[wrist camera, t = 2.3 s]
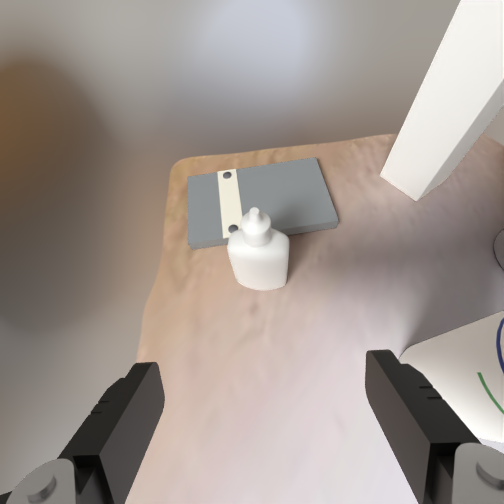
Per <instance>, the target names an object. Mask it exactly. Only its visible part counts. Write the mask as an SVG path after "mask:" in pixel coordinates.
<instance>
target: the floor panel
mask: <svg viewBox="0 0 504 504" xmlns="http://www.w3.org/2000/svg"><path fill="white" fill-rule="evenodd" d="M253 207H256V208H258V209H259V211H262V212H264V213H266V214H267V215H268V216H269V217H270V219H271V228H272V229H275V230H277V231H280V232H282V233H283V234H285V235H292V234H299V233H306V232H312V231H319V230H325V229H332V228H336V227H337V224H338V222H339V220H338V217H337V214H336V211H335V209H334V206H333V203H332V200H331V198H330V195H329V192H328V189H327V187H326V184H325V181H324V179H323V176H322V173H321V170H320V168H319V165H318V162H317V159H316V157H314V158H307V159H301V160H294V161H288V162H281V163H275V164H268V165H262V166H255V167H249V168H242V169H232V170H226V171H219V172H216V173H210V174H203V175H197V176H190V177H188V244H189V246H190V247H191V249H192V250H194V249H200V248H207V247H213V246H220V245H227V244H228V241H229V236H230V235H231V233H233V232H234V231H236V230H239V229H241V224H240V223H241V219H242V218H243V216H244V215H245V214H246V213H248V212H250V209H251V208H253Z"/></svg>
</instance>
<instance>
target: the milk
mask: <svg viewBox="0 0 504 504" xmlns="http://www.w3.org/2000/svg"><path fill="white" fill-rule="evenodd" d="M503 106H504V0H461V1H460V3H459V5H458V7H457V9H456V11H455V14H454V16H453V18H452V20H451V22H450V24H449V27H448V29H447V31H446V33H445V35H444V38H443V40H442V42H441V44H440V46H439V48H438V50H437V53H436V55H435V57H434V59H433V61H432V63H431V66H430V68H429V70H428V72H427V74H426V76H425V79H424V81H423V83H422V85H421V87H420V89H419V91H418V94H417V96H416V98H415V100H414V102H413V104H412V107H411V109H410V111H409V113H408V115H407V117H406V119H405V122H404V124H403V126H402V128H401V130H400V132H399V135H398V137H397V139H396V141H395V143H394V145H393V148H392V150H391V152H390V154H389V156H388V158H387V161H386V163H385V165H384V167H383V169H382V171H381V174H380V176H381V177H382V178H383V179H385V180H386V181H388V182H389V183H390V184H392V185H393V186H395V187H396V188H397V189H399V190H400V191H402V192H403V193H405V194H406V195H407V196H409V197H410V198H412V199H413V200H414V201H418V200H419V199H421V198H422V197H423V196H425V195H426V194H428V193H429V192H430V191H432V190H433V189H434V188H436V187H437V186H439V185H440V184H441V183H443V182H444V181H445V180H447V178H448V177H449V176H450V174H451V173H452V172H453V171H454V169H455V168H456V167H457V165H458V164H459V163H460V162H461V160H462V159H463V158H464V156H465V155H466V154H467V153H468V151H469V150H470V149H471V147H472V146H473V145H474V144H475V142H476V141H477V140H478V138H479V137H480V136H481V134H482V133H483V132H484V131H485V129H486V128H487V127H488V125H489V124H490V123H491V121H492V120H493V119H494V118H495V116H496V115H497V114H498V112H499V111H500V110H501V109H502V107H503Z"/></svg>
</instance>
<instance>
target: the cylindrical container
mask: <svg viewBox="0 0 504 504" xmlns="http://www.w3.org/2000/svg"><path fill="white" fill-rule="evenodd" d="M399 362H400V363H401V364H407V363H408V364H409V365H411V366H412V367H414V368H415V369H417V370H418V371H420V372H421V373H423V375H424V376H425V377H426V378H427V379H428V381H429V382H430V383H431V384H432V385H433V388H435V389H436V390H437V391H438V393H439V394H440V395H441V396H442V399H444V400H445V401H446V402H447V403H448V404H449V406H450V407H451V408H452V409H453V410H454V412H455V413H456V414H457V415H458V416H459V418H460V419H461V420H462V421H463V422H464V423H465V425H466V426H467V427H468V428H469V429H470V431H471V432H472V433H473V434H474V435H475V437H477V438H482V439H487V440H492V441H497V442H502V443H504V310H503V311H501V312H498V313H496V314H493V315H490V316H488V317H485V318H483V319H480V320H477V321H475V322H472V323H470V324H467V325H464V326H462V327H459V328H456V329H454V330H451V331H449V332H446V333H443V334H441V335H438V336H436V337H433V338H430V339H428V340H425V341H423V342H420V343H417V344H415V345H412V346H411V347H409V348H408V349H406V350H405V352H404V353H403V354H402V355H401V357H400V359H399Z"/></svg>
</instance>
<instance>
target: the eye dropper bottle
mask: <svg viewBox="0 0 504 504" xmlns="http://www.w3.org/2000/svg"><path fill="white" fill-rule="evenodd" d="M240 224H241V229H239V230H236V231H234V232H233V233H231V235H230V236H229V241H228V247H227V250H228V255H229V258H230V261H231V265H232V268H233V271H234V274H235V277H236V280H237V282H238V283H239V284H241V285H243V286H245V287H248V288H251V289H255V290H274V289H278V288H281V287H283V286H284V285H285V284H286V281H287V270H288V258H289V239H288V237H287V236H286V235H285V234H283V233H282V232H280V231H277V230H275V229H272V228H271V219H270V217H269V216H268V215H267V214H266V213H264V212H262V211H259V209H258V208H256V207H253V208H251V209H250V212H248V213H246V214H245V215H244V216H243V218H242V219H241V223H240Z"/></svg>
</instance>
